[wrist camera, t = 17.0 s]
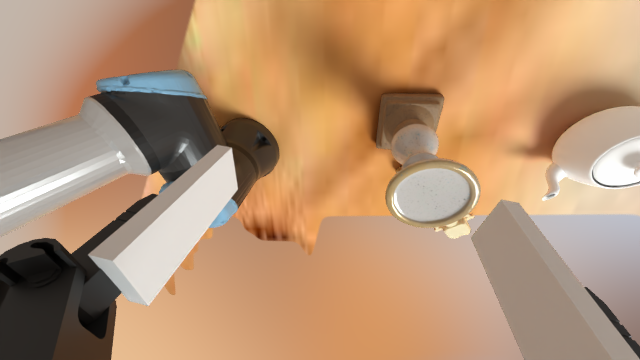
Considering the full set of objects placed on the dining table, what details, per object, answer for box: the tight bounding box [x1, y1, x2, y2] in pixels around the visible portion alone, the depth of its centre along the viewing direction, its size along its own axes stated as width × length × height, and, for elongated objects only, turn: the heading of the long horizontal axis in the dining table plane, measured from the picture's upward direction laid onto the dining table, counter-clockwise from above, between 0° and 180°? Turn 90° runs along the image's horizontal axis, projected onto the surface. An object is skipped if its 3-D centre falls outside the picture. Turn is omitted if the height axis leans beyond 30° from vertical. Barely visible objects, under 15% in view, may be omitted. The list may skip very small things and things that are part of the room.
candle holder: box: [376, 93, 481, 228], centre depth 36 cm, size 11×11×24 cm
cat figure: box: [396, 166, 474, 238], centre depth 51 cm, size 10×9×25 cm
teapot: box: [542, 106, 640, 200], centre depth 37 cm, size 22×14×11 cm, turn 138°
